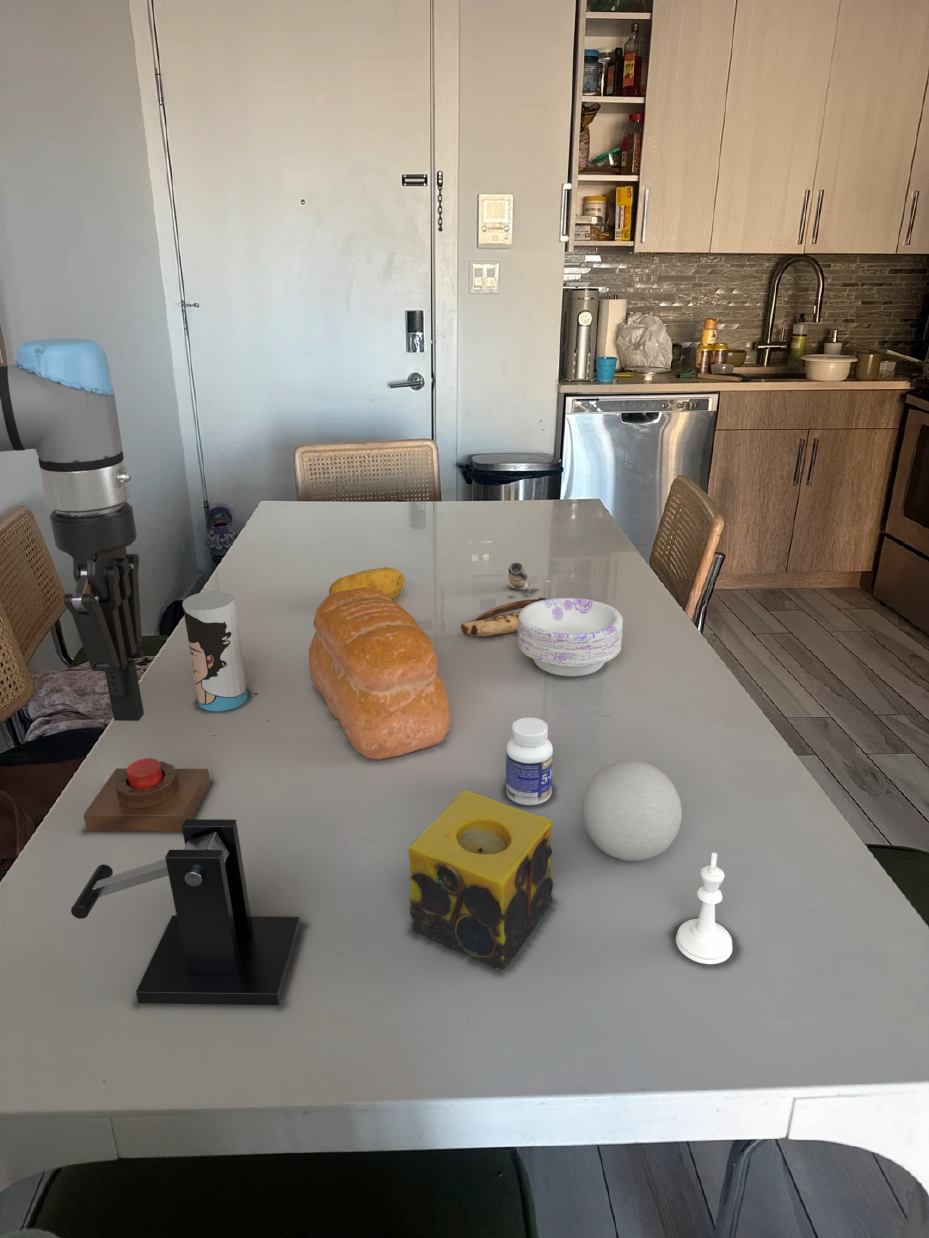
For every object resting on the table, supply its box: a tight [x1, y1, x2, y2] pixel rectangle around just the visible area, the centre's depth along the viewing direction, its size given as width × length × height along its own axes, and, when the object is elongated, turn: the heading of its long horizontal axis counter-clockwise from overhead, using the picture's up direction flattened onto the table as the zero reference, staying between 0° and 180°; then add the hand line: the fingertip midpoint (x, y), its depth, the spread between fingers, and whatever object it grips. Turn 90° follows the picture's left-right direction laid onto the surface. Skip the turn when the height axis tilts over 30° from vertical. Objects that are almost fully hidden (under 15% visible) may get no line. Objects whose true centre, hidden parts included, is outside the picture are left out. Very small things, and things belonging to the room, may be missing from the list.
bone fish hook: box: [460, 597, 548, 638], centre depth 141 cm, size 9×5×18 cm
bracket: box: [135, 818, 301, 1006], centre depth 75 cm, size 12×9×14 cm
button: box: [126, 757, 163, 788], centre depth 97 cm, size 4×4×2 cm
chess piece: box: [675, 852, 733, 965], centre depth 77 cm, size 5×5×10 cm
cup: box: [182, 590, 249, 712], centre depth 119 cm, size 7×7×15 cm
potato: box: [328, 566, 406, 601], centre depth 150 cm, size 8×14×7 cm, turn 118°
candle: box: [407, 789, 554, 971], centre depth 80 cm, size 10×10×10 cm
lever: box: [70, 832, 229, 920], centre depth 74 cm, size 13×5×2 cm, turn 88°
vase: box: [504, 562, 537, 592], centre depth 155 cm, size 5×5×6 cm
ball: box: [581, 760, 683, 862], centre depth 89 cm, size 10×10×10 cm
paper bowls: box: [517, 597, 624, 678], centre depth 128 cm, size 15×15×8 cm
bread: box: [308, 587, 451, 760], centre depth 115 cm, size 14×26×15 cm, turn 24°
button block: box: [83, 761, 212, 833], centre depth 98 cm, size 11×9×4 cm
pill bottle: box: [505, 717, 554, 806], centre depth 98 cm, size 5×5×9 cm
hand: (129, 717), depth 94 cm, fingers closed
